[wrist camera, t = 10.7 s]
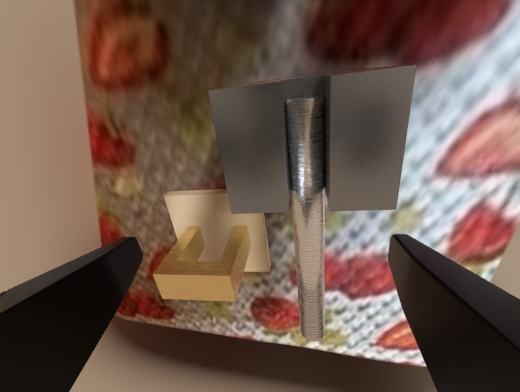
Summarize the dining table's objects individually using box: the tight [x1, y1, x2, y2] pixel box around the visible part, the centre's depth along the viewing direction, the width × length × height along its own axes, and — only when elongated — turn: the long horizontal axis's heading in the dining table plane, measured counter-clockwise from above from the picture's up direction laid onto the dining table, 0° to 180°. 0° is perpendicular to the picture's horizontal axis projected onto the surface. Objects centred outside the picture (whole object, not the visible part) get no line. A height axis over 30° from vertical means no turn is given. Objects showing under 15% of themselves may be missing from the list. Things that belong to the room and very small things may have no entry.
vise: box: [208, 65, 416, 341], centre depth 18 cm, size 8×19×9 cm, turn 7°
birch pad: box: [164, 189, 271, 272], centre depth 24 cm, size 9×9×1 cm
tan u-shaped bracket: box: [153, 225, 251, 302], centre depth 21 cm, size 6×2×6 cm, turn 97°
